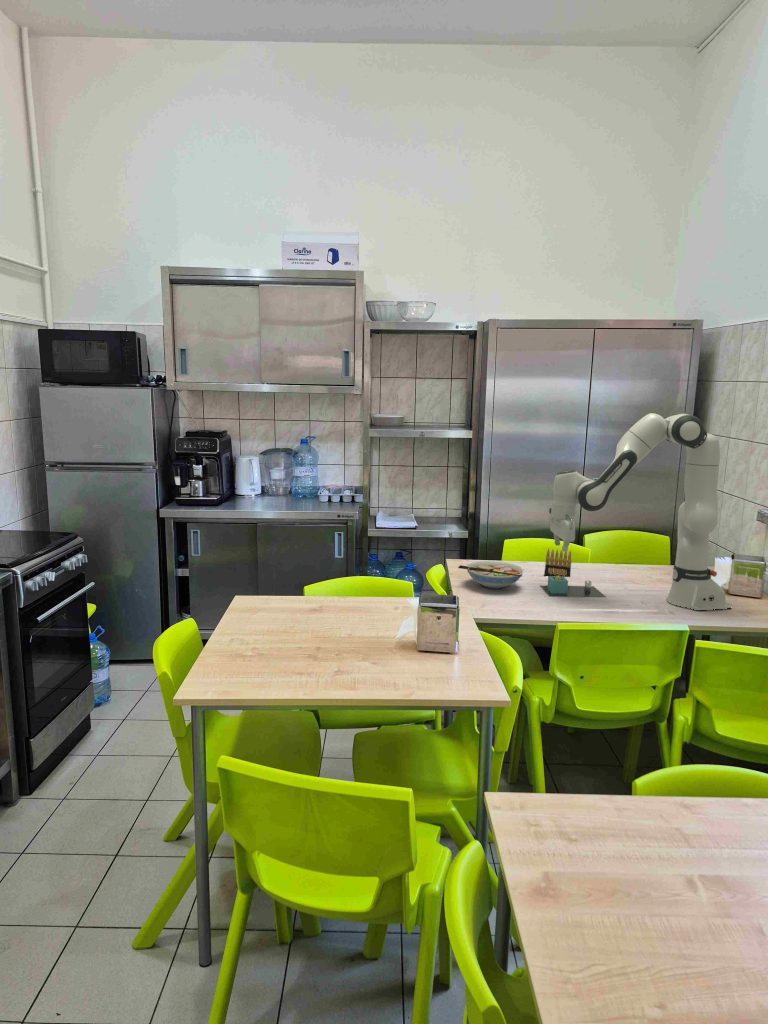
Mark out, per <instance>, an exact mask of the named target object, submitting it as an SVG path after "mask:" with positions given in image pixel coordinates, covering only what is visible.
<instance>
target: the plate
mask: <svg viewBox="0 0 768 1024" xmlns="http://www.w3.org/2000/svg"><path fill="white" fill-rule="evenodd" d="M555 580H561V577H560V576H556V577H555ZM539 587H540V588H541V590H542V591H544V592H545V594H546V595H547V596H548V597H553V598H554V597H555V598H558V597H559V598H561V597H563V598H607V596H606V595H605V594H603V592H602V591H600V590H598V588H597V587H595V586H594V585H592V581H591V580H585V581H584V585H568V589H567V594H564V593H551V592H550V591H549V590H548V589H547V585H539Z"/></svg>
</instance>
